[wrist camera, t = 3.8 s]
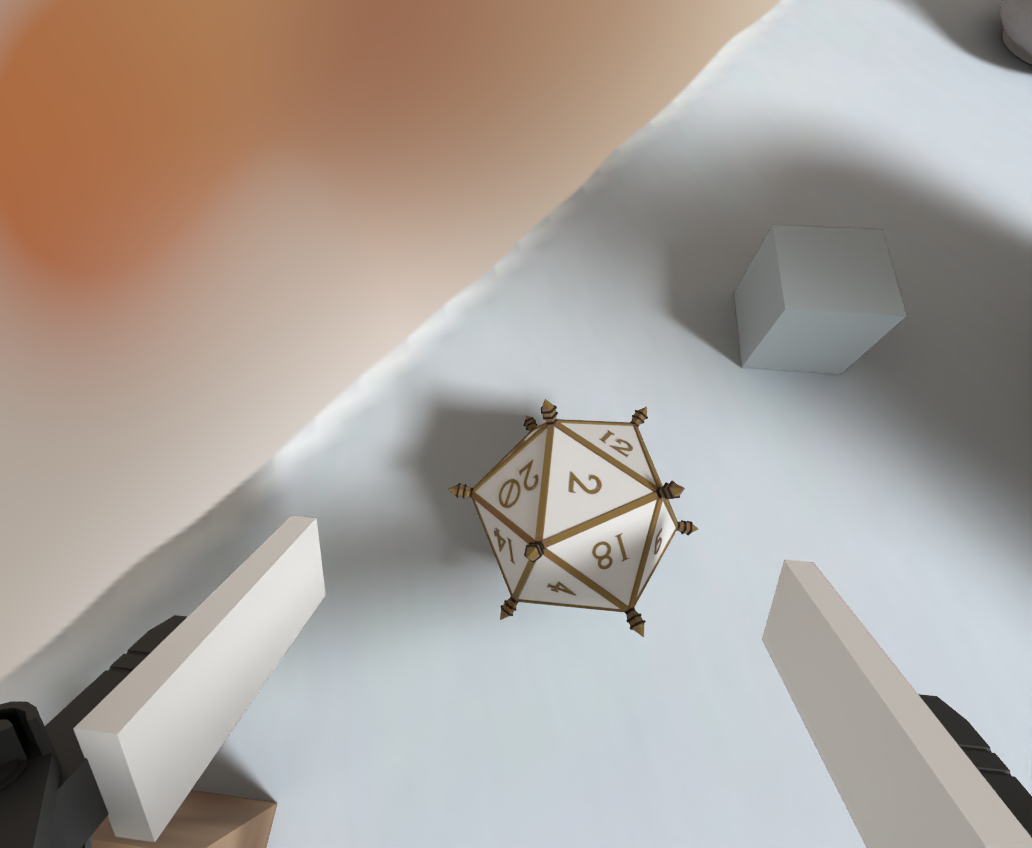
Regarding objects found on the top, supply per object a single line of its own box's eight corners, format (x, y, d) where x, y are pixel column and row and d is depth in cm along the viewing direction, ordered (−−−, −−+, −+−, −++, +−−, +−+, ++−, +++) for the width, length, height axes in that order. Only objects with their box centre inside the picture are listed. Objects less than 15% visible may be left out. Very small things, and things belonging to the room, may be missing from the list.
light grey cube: (824, 298, 27) (882, 229, 23) (839, 375, 25) (906, 316, 20) (733, 293, 27) (772, 224, 23) (740, 368, 25) (785, 309, 21)
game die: (558, 583, 25) (461, 713, 16) (496, 431, 25) (366, 472, 16) (735, 538, 21) (743, 673, 12) (659, 360, 21) (612, 360, 12)
